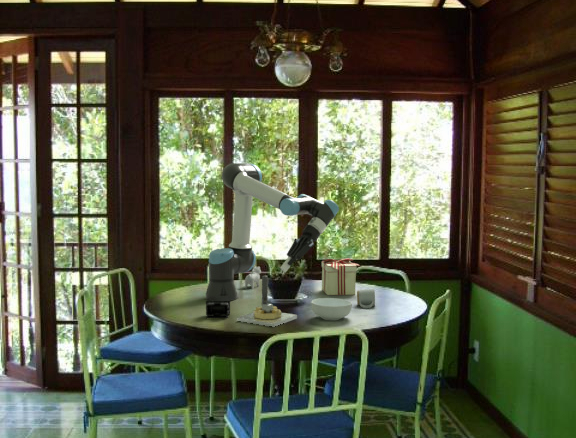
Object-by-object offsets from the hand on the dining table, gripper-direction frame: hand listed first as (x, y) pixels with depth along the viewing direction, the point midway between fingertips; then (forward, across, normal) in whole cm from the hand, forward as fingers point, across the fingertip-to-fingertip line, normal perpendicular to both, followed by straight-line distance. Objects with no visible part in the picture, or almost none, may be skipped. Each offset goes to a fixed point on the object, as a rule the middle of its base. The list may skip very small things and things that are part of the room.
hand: (282, 270), depth 291 cm
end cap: (+33, -9, -6) cm, 34 cm away
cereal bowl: (+6, +20, +22) cm, 30 cm away
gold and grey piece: (+20, +6, +3) cm, 21 cm away
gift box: (-21, -22, +48) cm, 57 cm away
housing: (+22, +8, +4) cm, 24 cm away
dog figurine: (-1, -60, +28) cm, 66 cm away
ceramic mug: (-14, +9, +42) cm, 45 cm away
